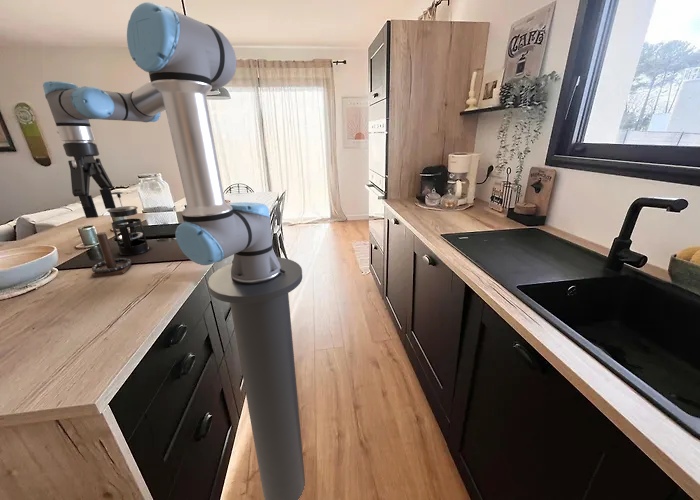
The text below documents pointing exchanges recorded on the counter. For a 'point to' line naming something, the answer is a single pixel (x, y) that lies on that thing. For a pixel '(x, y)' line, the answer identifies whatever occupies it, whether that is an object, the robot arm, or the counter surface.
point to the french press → (129, 239)
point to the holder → (107, 257)
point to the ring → (111, 268)
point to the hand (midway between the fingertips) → (102, 212)
